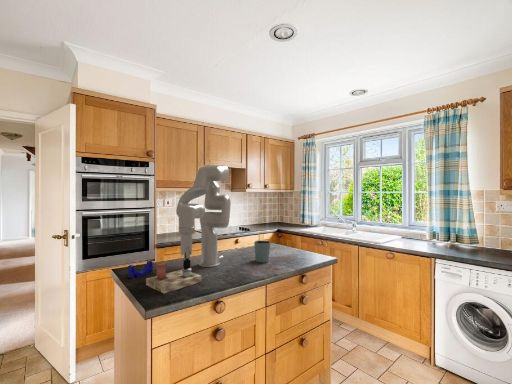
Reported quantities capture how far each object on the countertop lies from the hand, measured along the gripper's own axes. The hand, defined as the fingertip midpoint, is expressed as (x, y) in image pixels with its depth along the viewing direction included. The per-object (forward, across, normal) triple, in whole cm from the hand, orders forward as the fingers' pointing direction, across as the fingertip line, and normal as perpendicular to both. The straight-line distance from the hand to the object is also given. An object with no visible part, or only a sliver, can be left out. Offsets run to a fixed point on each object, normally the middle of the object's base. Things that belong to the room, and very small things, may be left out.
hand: (186, 267), depth 132 cm
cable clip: (+7, -19, -22) cm, 30 cm away
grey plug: (+7, 0, 0) cm, 7 cm away
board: (+7, 0, -6) cm, 9 cm away
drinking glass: (+8, -26, +48) cm, 55 cm away
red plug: (+4, 0, -12) cm, 12 cm away
